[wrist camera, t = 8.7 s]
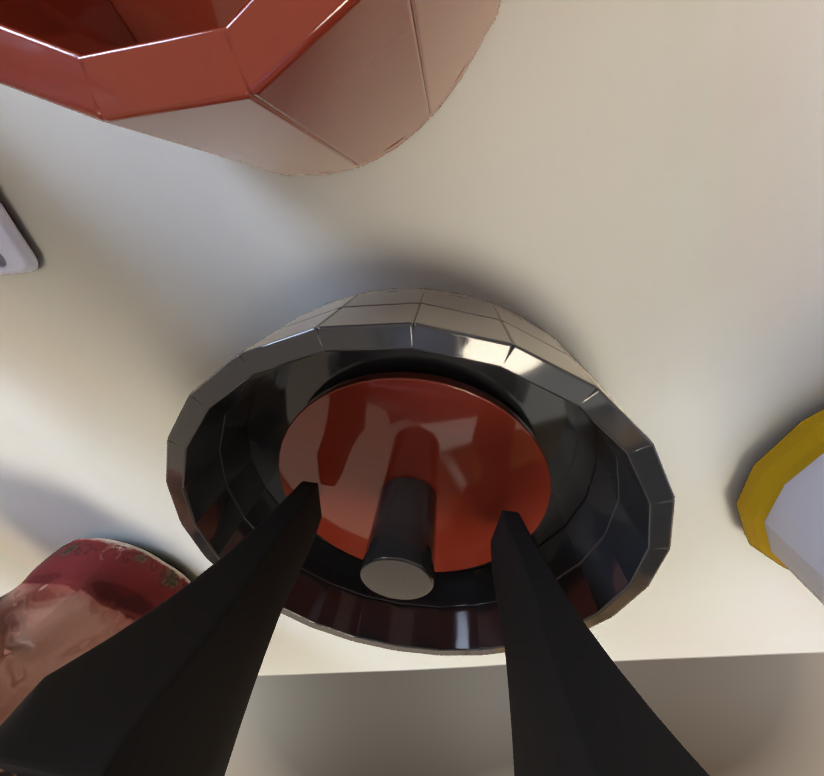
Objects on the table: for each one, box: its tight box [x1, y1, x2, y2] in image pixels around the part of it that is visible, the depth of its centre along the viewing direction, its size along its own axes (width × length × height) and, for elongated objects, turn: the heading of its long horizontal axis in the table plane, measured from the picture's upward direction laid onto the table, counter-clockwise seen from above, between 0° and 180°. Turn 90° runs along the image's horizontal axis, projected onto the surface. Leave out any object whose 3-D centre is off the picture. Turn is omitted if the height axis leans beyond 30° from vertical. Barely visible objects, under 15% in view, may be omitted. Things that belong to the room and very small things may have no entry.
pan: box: [166, 289, 675, 655], centre depth 12 cm, size 16×16×4 cm
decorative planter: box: [0, 538, 191, 776], centre depth 16 cm, size 20×12×14 cm, turn 31°
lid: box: [278, 372, 551, 600], centre depth 11 cm, size 11×11×4 cm
